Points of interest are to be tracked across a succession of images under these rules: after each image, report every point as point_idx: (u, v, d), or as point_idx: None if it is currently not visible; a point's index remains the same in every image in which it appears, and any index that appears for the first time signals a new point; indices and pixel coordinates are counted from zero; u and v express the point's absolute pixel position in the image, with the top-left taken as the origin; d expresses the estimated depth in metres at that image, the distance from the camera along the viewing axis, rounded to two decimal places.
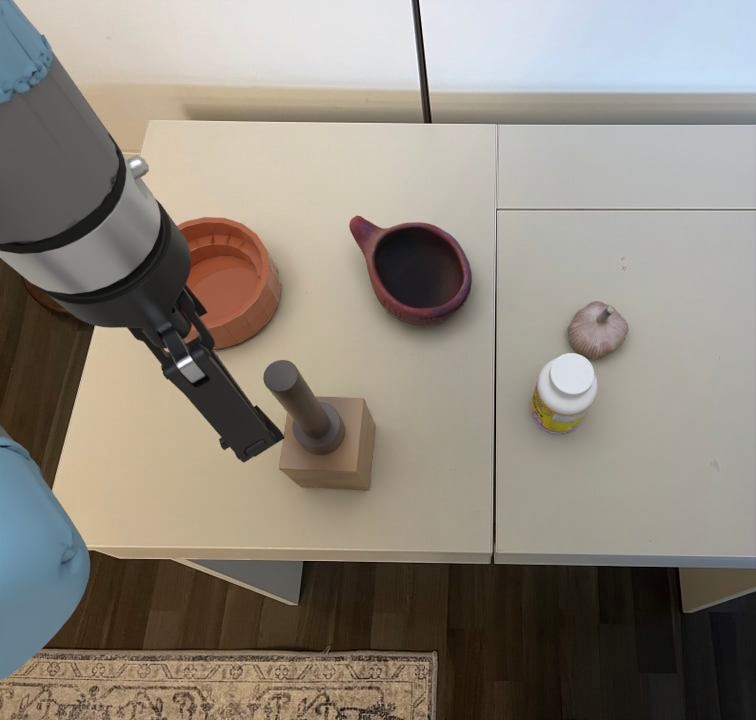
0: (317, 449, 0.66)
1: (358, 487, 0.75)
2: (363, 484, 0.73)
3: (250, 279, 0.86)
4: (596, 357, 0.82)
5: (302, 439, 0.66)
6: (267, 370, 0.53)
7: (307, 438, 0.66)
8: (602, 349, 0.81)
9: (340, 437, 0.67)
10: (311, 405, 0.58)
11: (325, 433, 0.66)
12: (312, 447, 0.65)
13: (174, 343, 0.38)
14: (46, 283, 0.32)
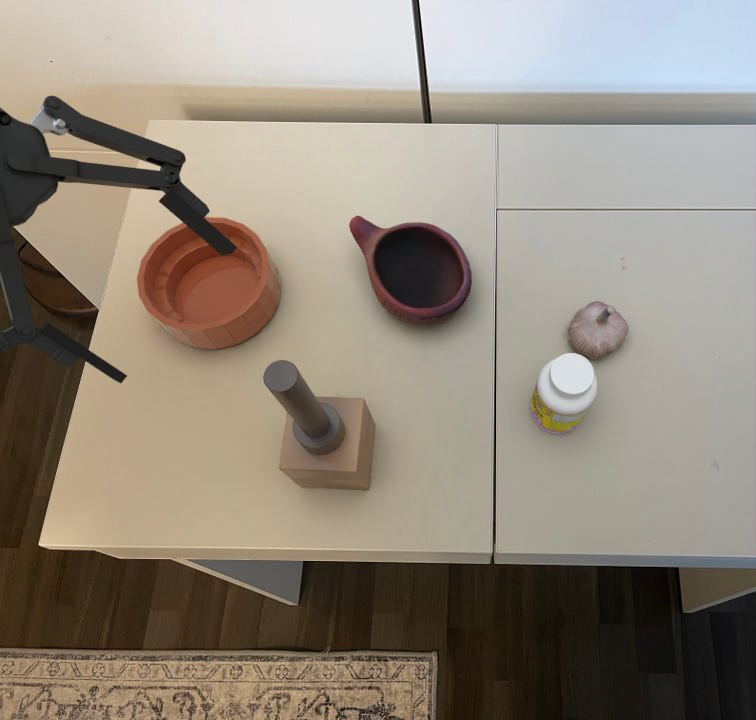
0: (317, 449, 0.66)
1: (358, 487, 0.75)
2: (363, 484, 0.73)
3: (250, 279, 0.86)
4: (596, 357, 0.82)
5: (302, 439, 0.66)
6: (267, 370, 0.53)
7: (307, 438, 0.66)
8: (602, 349, 0.81)
9: (340, 437, 0.67)
10: (311, 405, 0.58)
11: (325, 433, 0.66)
12: (312, 447, 0.65)
13: (34, 117, 0.47)
14: None
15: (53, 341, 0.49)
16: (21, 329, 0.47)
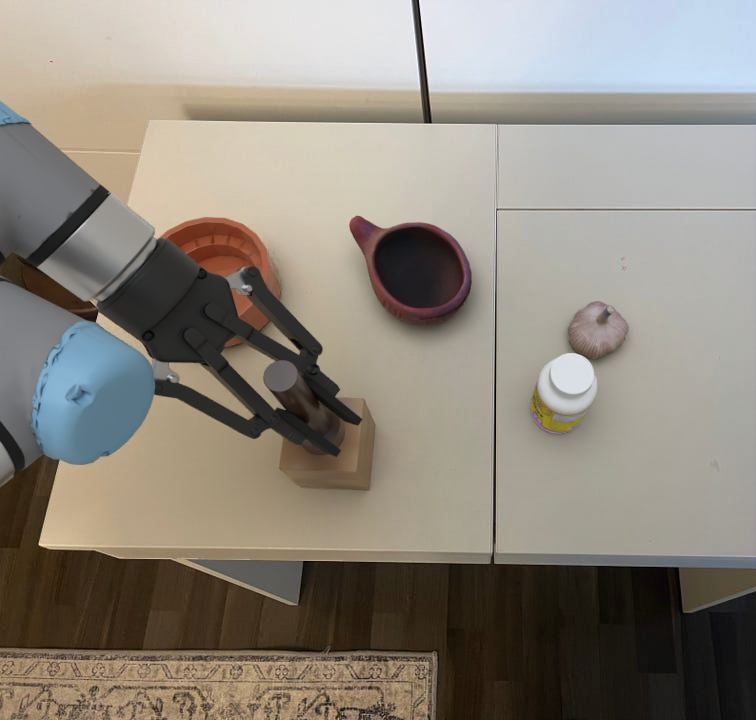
0: (317, 449, 0.66)
1: (358, 487, 0.75)
2: (363, 484, 0.73)
3: None
4: (596, 357, 0.82)
5: None
6: (267, 370, 0.53)
7: None
8: (602, 349, 0.81)
9: (340, 437, 0.67)
10: (311, 405, 0.58)
11: (325, 433, 0.66)
12: (312, 447, 0.65)
13: (231, 274, 0.55)
14: (140, 227, 0.48)
15: (289, 425, 0.58)
16: (270, 419, 0.57)
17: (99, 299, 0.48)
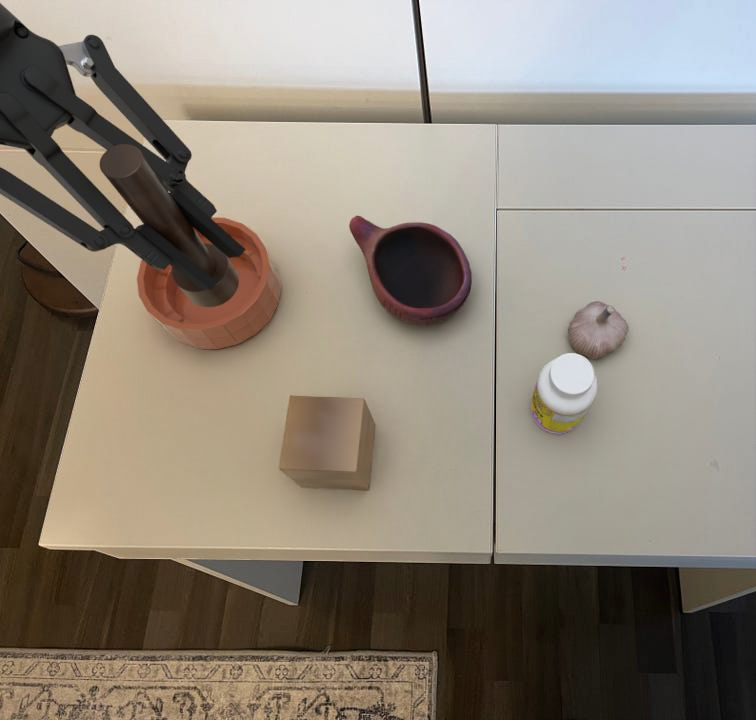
0: (200, 295, 0.56)
1: (358, 487, 0.75)
2: (363, 484, 0.73)
3: (250, 279, 0.86)
4: (596, 357, 0.82)
5: (182, 283, 0.56)
6: (105, 154, 0.44)
7: (188, 281, 0.56)
8: (602, 349, 0.81)
9: (230, 285, 0.58)
10: (175, 219, 0.49)
11: None
12: (193, 291, 0.56)
13: None
14: None
15: (148, 242, 0.49)
16: (120, 229, 0.47)
17: None
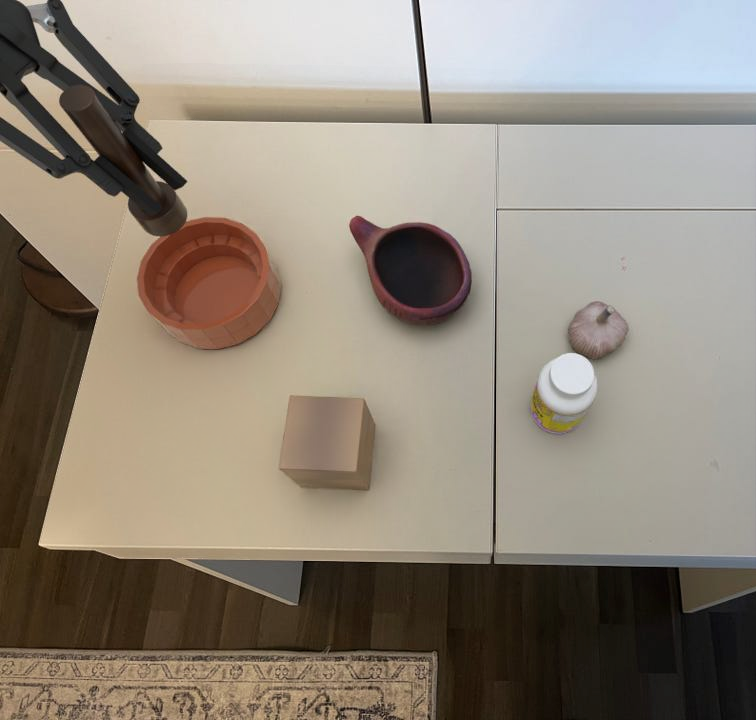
0: (152, 224, 0.66)
1: (358, 487, 0.75)
2: (363, 484, 0.73)
3: (250, 279, 0.86)
4: (596, 357, 0.82)
5: (136, 213, 0.66)
6: (64, 93, 0.54)
7: (142, 212, 0.66)
8: (602, 349, 0.81)
9: (178, 216, 0.68)
10: (125, 151, 0.59)
11: None
12: (146, 220, 0.66)
13: None
14: None
15: (103, 171, 0.59)
16: (78, 158, 0.57)
17: None
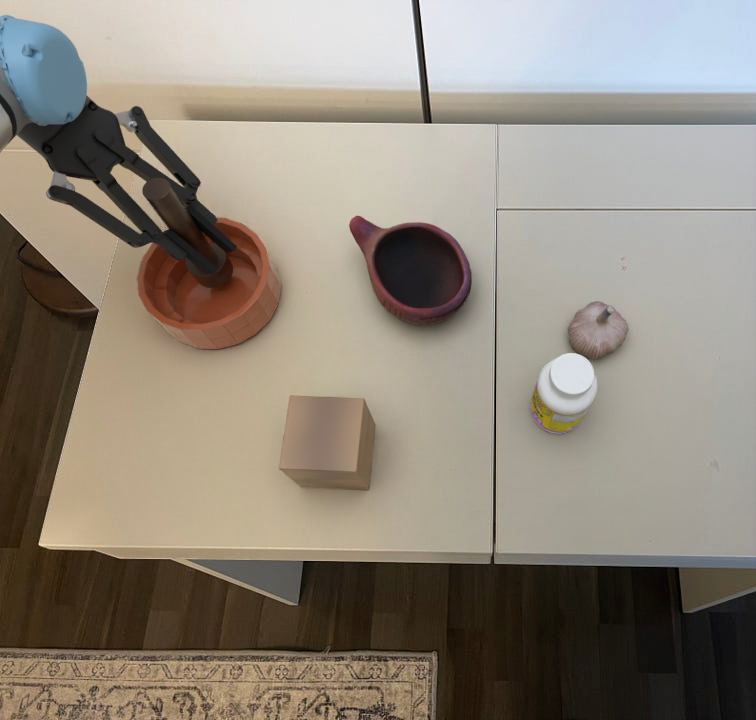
0: (205, 279, 0.80)
1: (358, 487, 0.75)
2: (363, 484, 0.73)
3: (250, 279, 0.86)
4: (596, 357, 0.82)
5: (193, 270, 0.80)
6: (145, 184, 0.67)
7: (197, 269, 0.80)
8: (602, 349, 0.81)
9: (226, 272, 0.81)
10: (189, 225, 0.73)
11: None
12: (201, 276, 0.80)
13: (120, 113, 0.69)
14: None
15: (172, 242, 0.73)
16: (153, 233, 0.71)
17: None
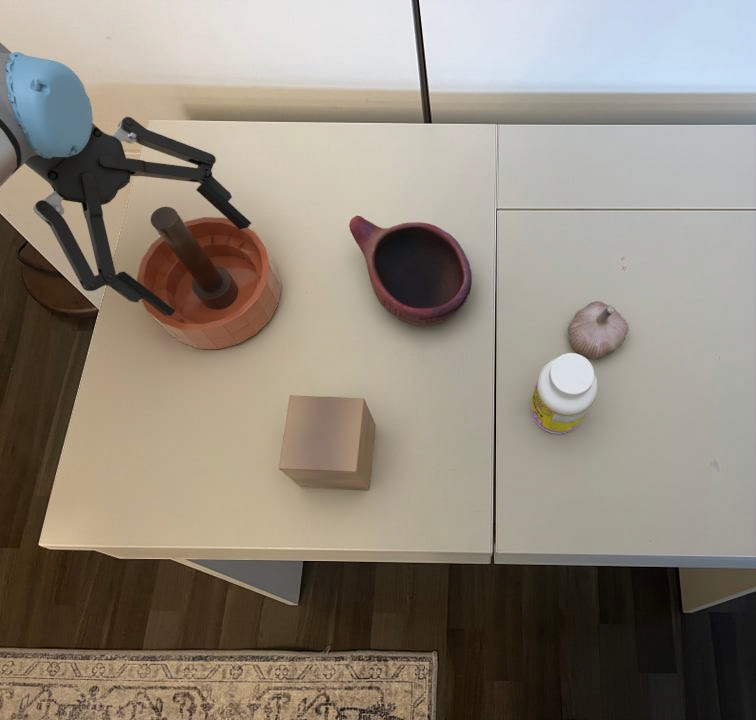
0: (211, 301, 0.82)
1: (358, 487, 0.75)
2: (363, 484, 0.73)
3: (250, 279, 0.86)
4: (596, 357, 0.82)
5: (199, 293, 0.82)
6: (154, 213, 0.69)
7: (203, 291, 0.82)
8: (602, 349, 0.81)
9: (232, 294, 0.83)
10: (196, 251, 0.75)
11: (218, 288, 0.82)
12: (207, 298, 0.81)
13: (115, 131, 0.70)
14: None
15: (126, 284, 0.71)
16: (106, 274, 0.69)
17: None
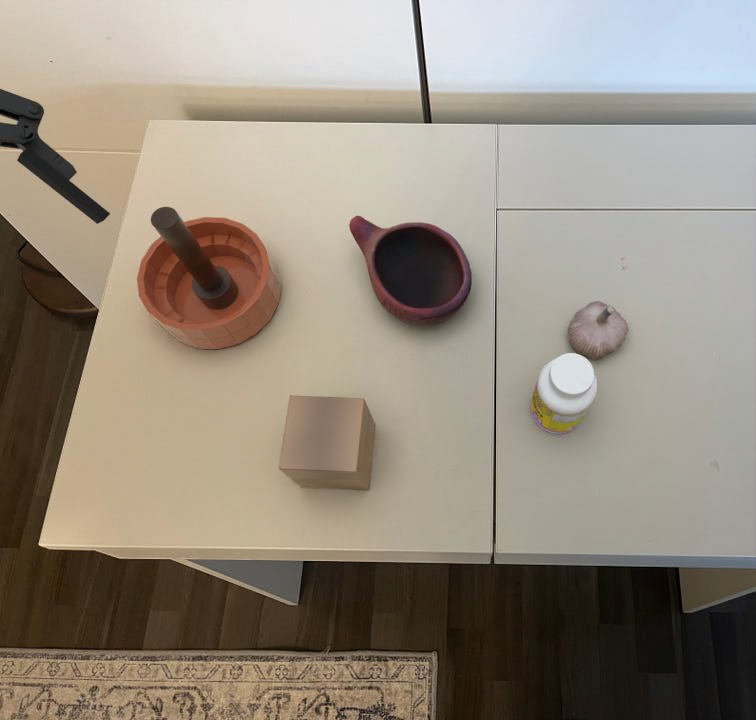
0: (211, 301, 0.82)
1: (358, 487, 0.75)
2: (363, 484, 0.73)
3: (250, 279, 0.86)
4: (596, 357, 0.82)
5: (199, 293, 0.82)
6: (154, 213, 0.69)
7: (203, 291, 0.82)
8: (602, 349, 0.81)
9: (232, 294, 0.83)
10: (196, 251, 0.75)
11: (218, 288, 0.82)
12: (207, 298, 0.81)
13: None
14: None
15: None
16: None
17: None
